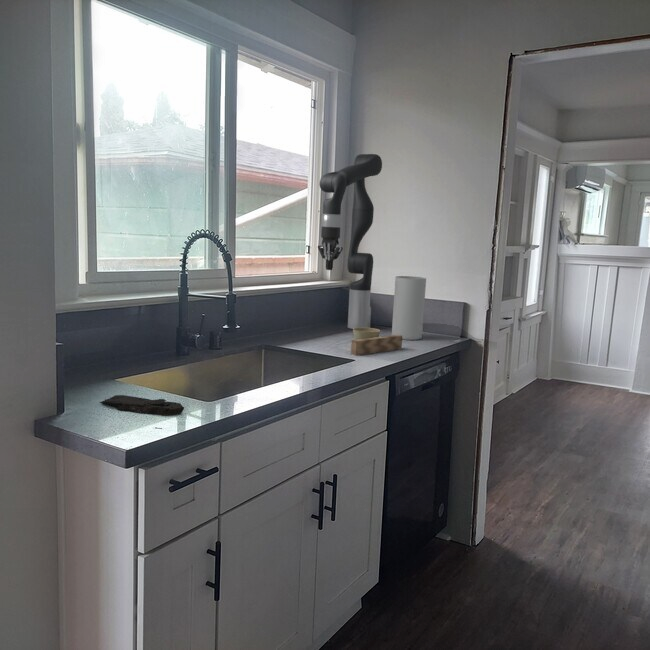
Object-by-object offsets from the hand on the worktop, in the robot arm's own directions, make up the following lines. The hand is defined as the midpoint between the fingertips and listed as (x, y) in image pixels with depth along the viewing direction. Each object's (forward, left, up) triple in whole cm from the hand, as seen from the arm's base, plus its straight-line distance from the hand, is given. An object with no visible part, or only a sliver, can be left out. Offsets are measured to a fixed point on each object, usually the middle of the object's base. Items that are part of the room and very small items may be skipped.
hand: (328, 269), depth 249 cm
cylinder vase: (-29, +18, -27) cm, 44 cm away
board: (+3, +32, -27) cm, 42 cm away
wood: (+103, +51, -28) cm, 118 cm away
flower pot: (+3, +26, -27) cm, 38 cm away
